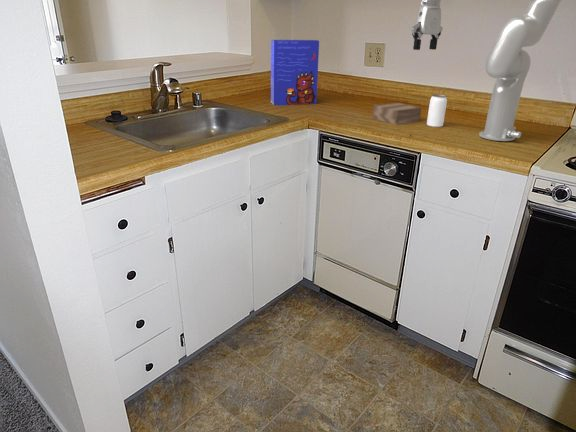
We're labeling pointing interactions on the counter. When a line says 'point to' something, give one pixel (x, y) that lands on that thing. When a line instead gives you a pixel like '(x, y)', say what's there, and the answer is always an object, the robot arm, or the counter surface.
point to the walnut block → (396, 113)
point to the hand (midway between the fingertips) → (424, 49)
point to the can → (437, 111)
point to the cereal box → (294, 71)
